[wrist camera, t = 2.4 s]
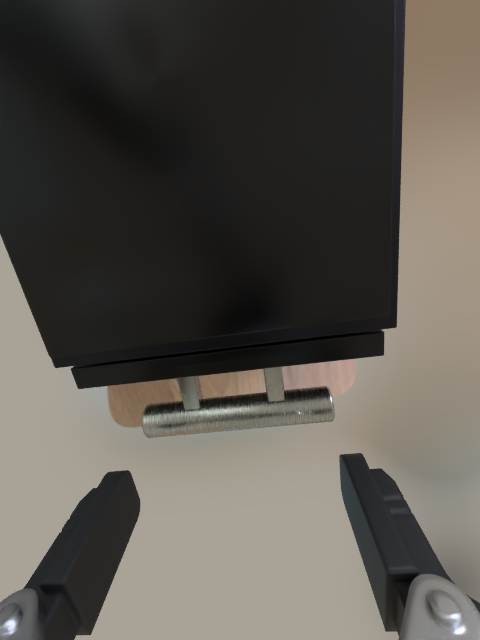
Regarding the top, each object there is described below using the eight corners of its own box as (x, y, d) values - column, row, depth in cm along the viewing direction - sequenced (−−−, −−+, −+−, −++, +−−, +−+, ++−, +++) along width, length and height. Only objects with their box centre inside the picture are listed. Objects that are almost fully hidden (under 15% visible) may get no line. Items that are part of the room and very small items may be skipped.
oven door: (314, 325, 25) (383, 436, 12) (180, 342, 26) (104, 459, 13) (311, 273, 23) (384, 331, 10) (168, 293, 25) (69, 368, 11)
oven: (306, 265, 26) (406, 334, 9) (175, 283, 27) (43, 376, 10) (291, 60, 21) (444, -628, 4) (132, 93, 23) (-253, -332, 5)
